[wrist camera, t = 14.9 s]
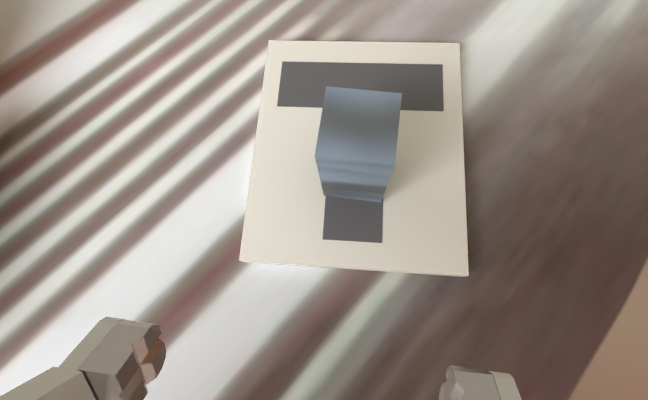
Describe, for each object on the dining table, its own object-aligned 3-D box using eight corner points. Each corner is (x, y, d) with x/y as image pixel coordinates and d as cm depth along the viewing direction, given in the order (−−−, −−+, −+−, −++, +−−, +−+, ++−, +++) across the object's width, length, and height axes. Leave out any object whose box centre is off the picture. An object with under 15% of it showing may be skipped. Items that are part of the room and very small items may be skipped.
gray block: (381, 202, 27) (394, 164, 19) (323, 195, 27) (314, 155, 19) (386, 149, 28) (402, 93, 20) (331, 143, 28) (326, 86, 21)
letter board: (463, 276, 26) (468, 275, 25) (243, 262, 27) (238, 260, 26) (455, 52, 31) (459, 42, 30) (271, 49, 33) (268, 40, 31)
